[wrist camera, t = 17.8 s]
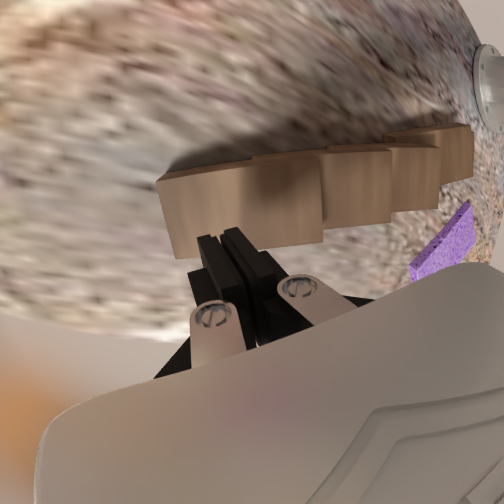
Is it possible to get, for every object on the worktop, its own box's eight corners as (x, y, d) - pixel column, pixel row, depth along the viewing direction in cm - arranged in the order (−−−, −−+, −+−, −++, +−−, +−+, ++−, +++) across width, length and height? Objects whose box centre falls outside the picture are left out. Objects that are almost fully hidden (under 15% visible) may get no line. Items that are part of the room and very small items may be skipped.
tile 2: (383, 134, 22) (457, 122, 21) (390, 188, 24) (460, 171, 23) (395, 137, 20) (470, 125, 19) (402, 195, 22) (473, 176, 22)
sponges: (404, 263, 30) (416, 271, 28) (462, 198, 30) (474, 203, 29) (414, 298, 34) (423, 305, 32) (467, 237, 34) (476, 242, 32)
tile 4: (251, 155, 19) (380, 146, 18) (261, 224, 21) (380, 212, 21) (252, 161, 17) (392, 151, 17) (261, 236, 20) (390, 222, 19)
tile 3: (326, 145, 20) (428, 143, 20) (329, 208, 23) (426, 200, 22) (333, 149, 19) (441, 148, 18) (336, 217, 21) (437, 208, 21)
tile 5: (165, 173, 17) (312, 153, 17) (182, 244, 20) (316, 228, 19) (155, 181, 16) (319, 159, 15) (175, 259, 18) (323, 242, 17)
